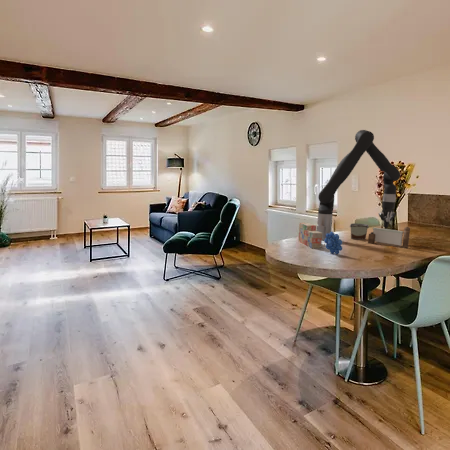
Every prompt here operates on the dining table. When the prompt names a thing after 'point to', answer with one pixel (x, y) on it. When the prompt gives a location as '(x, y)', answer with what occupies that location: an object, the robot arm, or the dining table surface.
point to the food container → (358, 231)
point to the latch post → (371, 238)
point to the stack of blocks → (309, 235)
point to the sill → (388, 244)
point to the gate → (388, 236)
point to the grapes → (333, 242)
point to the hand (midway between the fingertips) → (385, 227)
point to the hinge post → (406, 237)
